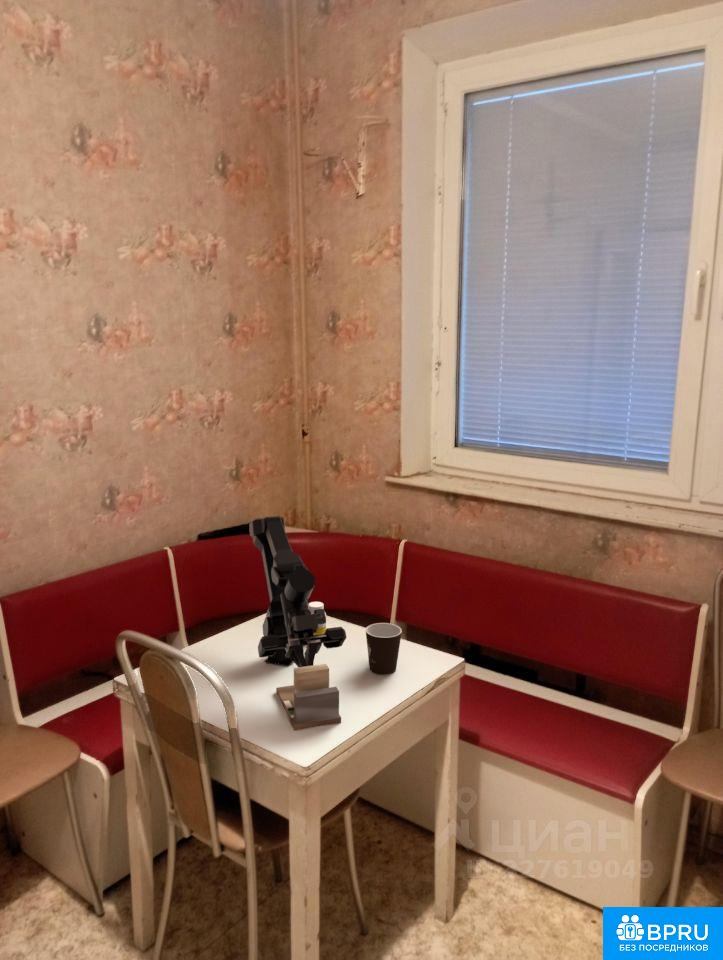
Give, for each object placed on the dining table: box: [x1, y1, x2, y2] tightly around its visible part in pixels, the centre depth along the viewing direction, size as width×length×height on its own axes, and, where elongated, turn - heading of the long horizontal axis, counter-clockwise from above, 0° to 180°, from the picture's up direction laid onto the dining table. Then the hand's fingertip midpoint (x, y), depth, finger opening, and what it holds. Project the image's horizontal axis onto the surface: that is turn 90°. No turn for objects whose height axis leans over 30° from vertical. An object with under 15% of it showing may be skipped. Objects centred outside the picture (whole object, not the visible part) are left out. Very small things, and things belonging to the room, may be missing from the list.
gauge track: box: [275, 684, 342, 731], centre depth 154 cm, size 16×10×7 cm, turn 19°
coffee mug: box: [365, 622, 403, 676], centre depth 174 cm, size 12×9×10 cm
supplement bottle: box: [308, 601, 327, 641], centre depth 189 cm, size 5×5×10 cm
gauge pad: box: [288, 663, 330, 711], centre depth 151 cm, size 2×9×9 cm, turn 109°
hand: (309, 679), depth 152 cm, fingers closed
